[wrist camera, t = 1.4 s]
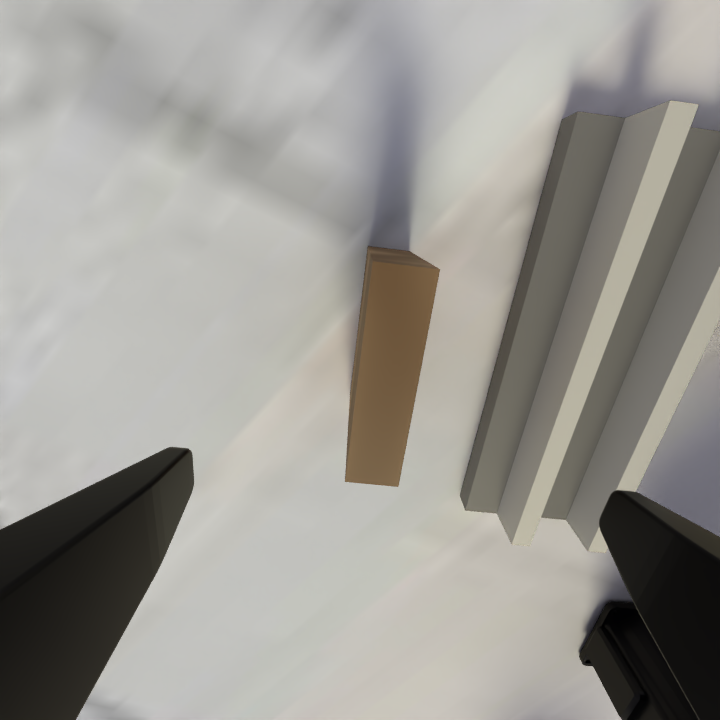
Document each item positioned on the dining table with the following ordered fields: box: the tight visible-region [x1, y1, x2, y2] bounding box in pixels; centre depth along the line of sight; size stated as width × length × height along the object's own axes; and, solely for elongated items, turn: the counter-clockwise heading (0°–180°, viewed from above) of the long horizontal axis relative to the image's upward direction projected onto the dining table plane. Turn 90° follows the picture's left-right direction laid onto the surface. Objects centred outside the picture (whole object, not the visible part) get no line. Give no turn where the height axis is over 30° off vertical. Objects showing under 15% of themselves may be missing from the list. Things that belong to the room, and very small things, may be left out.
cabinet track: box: [460, 100, 720, 553], centre depth 17 cm, size 9×20×3 cm, turn 173°
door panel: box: [345, 246, 440, 487], centre depth 15 cm, size 2×8×7 cm, turn 173°
